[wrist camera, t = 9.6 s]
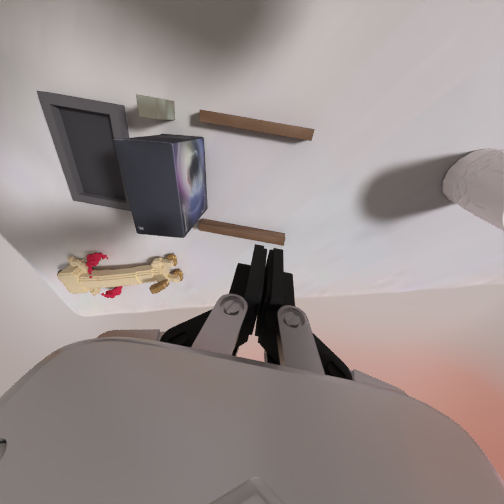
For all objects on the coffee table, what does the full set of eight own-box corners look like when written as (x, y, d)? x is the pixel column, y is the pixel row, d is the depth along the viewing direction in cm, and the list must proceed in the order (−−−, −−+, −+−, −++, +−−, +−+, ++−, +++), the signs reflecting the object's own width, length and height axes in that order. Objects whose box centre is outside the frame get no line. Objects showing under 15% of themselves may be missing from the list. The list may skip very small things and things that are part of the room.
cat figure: (173, 239, 40) (54, 253, 42) (153, 265, 32) (10, 281, 34) (188, 280, 45) (82, 290, 47) (174, 311, 37) (49, 322, 40)
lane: (158, 98, 26) (136, 94, 22) (313, 125, 26) (319, 126, 22) (168, 220, 36) (154, 234, 32) (282, 241, 36) (283, 257, 31)
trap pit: (47, 92, 27) (36, 90, 26) (124, 105, 27) (116, 104, 26) (80, 197, 35) (73, 200, 34) (140, 208, 35) (135, 211, 34)
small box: (210, 210, 34) (186, 241, 25) (171, 206, 34) (135, 235, 26) (206, 136, 28) (173, 142, 19) (160, 132, 29) (107, 137, 20)
